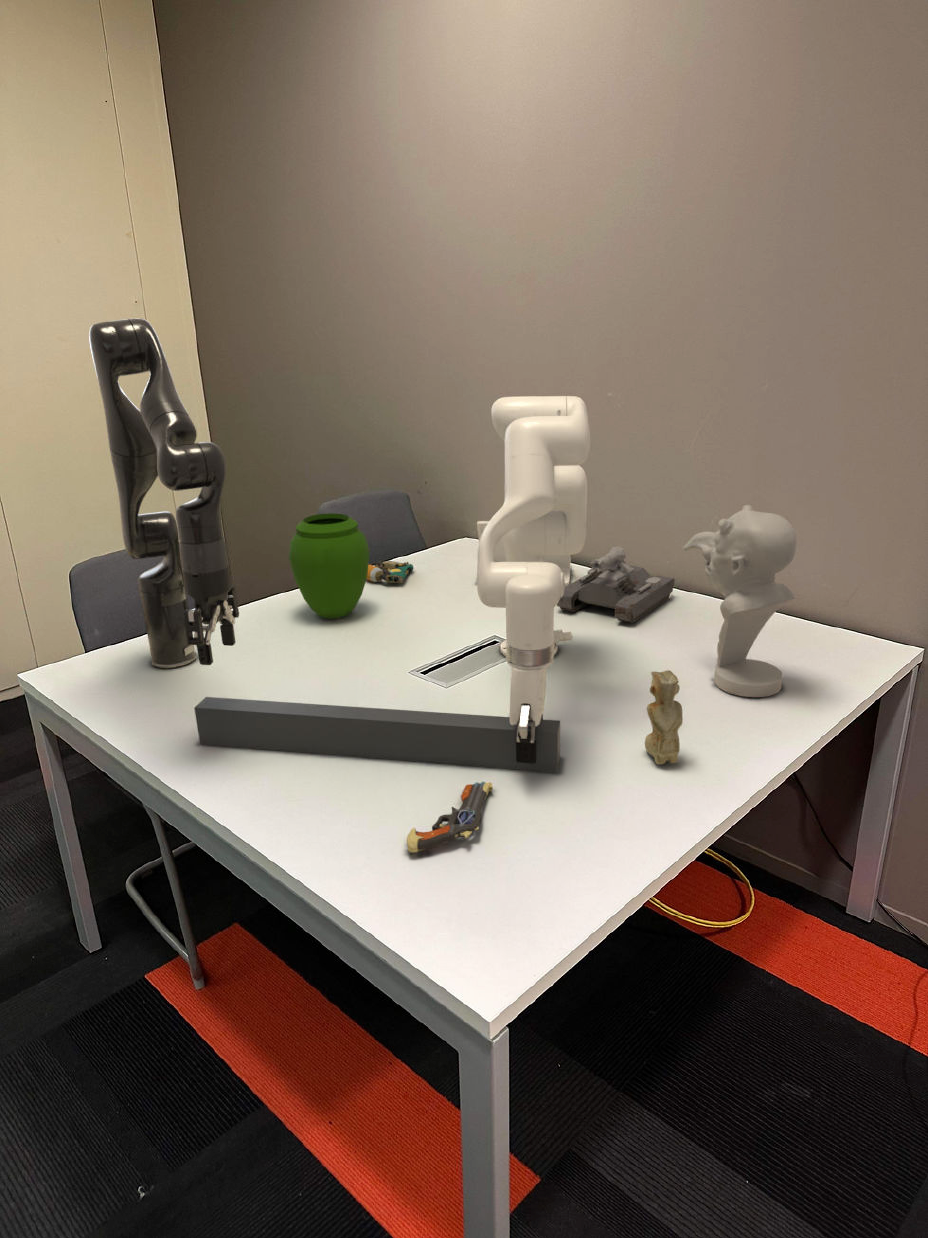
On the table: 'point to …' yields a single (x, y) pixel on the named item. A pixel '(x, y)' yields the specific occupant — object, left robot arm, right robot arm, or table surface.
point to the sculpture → (664, 718)
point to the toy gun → (454, 820)
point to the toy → (617, 588)
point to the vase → (329, 563)
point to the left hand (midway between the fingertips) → (218, 654)
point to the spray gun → (389, 571)
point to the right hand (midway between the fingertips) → (529, 747)
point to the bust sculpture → (747, 593)
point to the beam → (373, 733)
